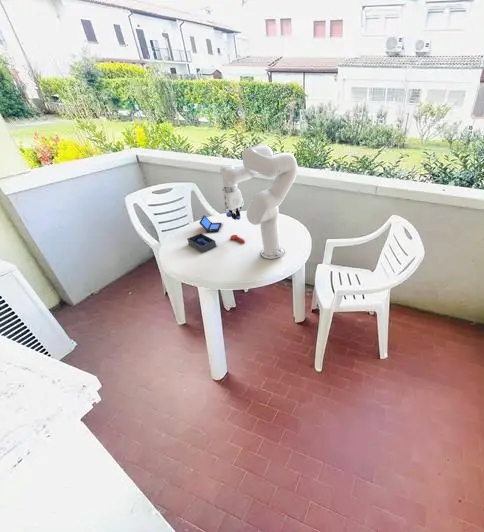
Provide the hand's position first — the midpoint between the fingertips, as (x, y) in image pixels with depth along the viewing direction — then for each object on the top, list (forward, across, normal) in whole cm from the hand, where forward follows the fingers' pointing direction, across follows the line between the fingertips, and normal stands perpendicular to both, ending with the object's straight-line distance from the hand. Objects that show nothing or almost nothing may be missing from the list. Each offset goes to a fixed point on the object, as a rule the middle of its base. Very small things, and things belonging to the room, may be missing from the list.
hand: (236, 218), depth 169 cm
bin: (+14, -20, +11) cm, 27 cm away
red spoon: (+14, -2, -1) cm, 15 cm away
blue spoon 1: (+14, -18, +11) cm, 25 cm away
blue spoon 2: (0, 0, +3) cm, 3 cm away
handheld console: (+15, -3, +26) cm, 31 cm away
